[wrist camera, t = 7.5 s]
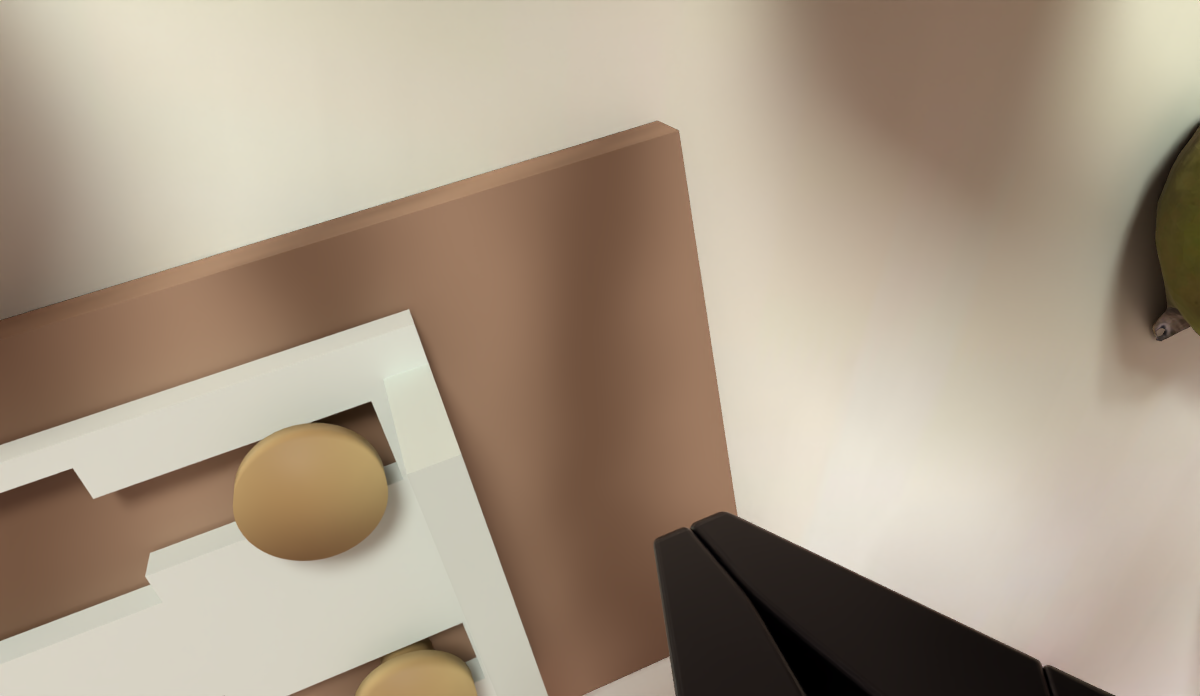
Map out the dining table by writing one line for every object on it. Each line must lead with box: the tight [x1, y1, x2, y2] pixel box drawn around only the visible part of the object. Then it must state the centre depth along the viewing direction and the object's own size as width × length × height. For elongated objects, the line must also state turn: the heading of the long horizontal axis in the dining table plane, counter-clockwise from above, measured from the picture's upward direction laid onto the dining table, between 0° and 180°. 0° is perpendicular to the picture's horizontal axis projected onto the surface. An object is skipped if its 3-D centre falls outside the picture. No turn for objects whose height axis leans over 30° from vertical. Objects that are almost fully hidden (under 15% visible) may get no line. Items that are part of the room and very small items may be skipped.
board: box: [0, 121, 737, 696], centre depth 20 cm, size 19×16×3 cm
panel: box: [0, 309, 548, 696], centre depth 18 cm, size 12×12×4 cm
